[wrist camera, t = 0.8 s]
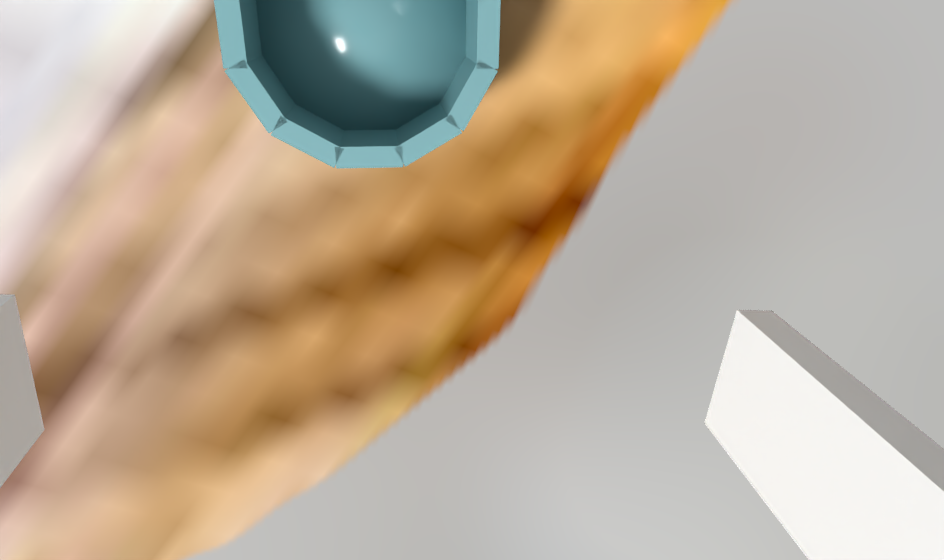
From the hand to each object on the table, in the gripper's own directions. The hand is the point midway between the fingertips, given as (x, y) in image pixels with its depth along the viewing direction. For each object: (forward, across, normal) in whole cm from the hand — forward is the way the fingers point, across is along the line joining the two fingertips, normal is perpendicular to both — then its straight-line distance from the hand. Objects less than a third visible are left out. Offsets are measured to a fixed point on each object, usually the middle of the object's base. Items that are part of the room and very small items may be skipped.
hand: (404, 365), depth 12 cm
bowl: (+24, -1, +5) cm, 25 cm away
